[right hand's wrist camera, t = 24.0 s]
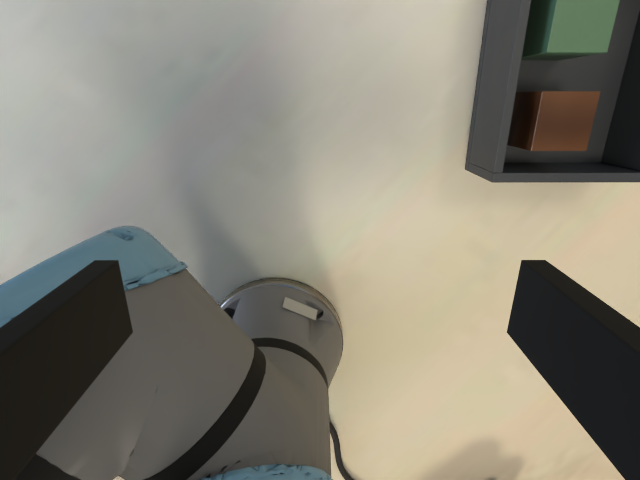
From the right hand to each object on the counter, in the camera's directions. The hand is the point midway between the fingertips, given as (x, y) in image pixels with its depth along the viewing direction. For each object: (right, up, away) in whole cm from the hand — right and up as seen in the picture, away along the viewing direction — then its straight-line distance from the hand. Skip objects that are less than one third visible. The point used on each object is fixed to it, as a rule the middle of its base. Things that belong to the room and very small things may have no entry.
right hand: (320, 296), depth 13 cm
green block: (+19, +20, +20) cm, 34 cm away
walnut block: (+19, +13, +23) cm, 33 cm away
